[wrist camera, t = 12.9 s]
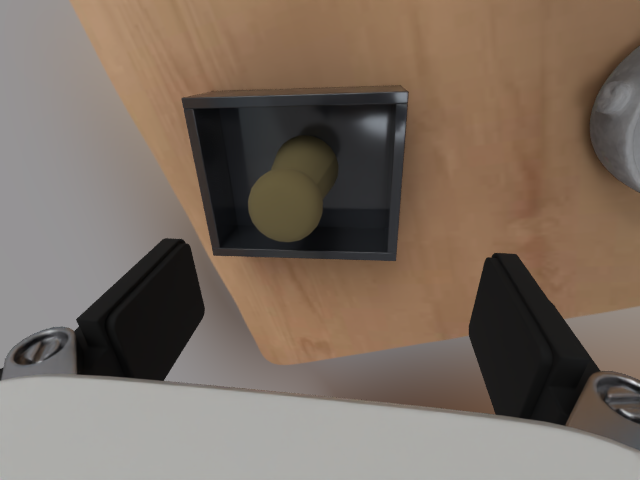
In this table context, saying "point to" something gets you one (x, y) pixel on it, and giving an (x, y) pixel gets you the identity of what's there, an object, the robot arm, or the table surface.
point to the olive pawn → (293, 189)
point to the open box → (261, 149)
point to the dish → (619, 122)
